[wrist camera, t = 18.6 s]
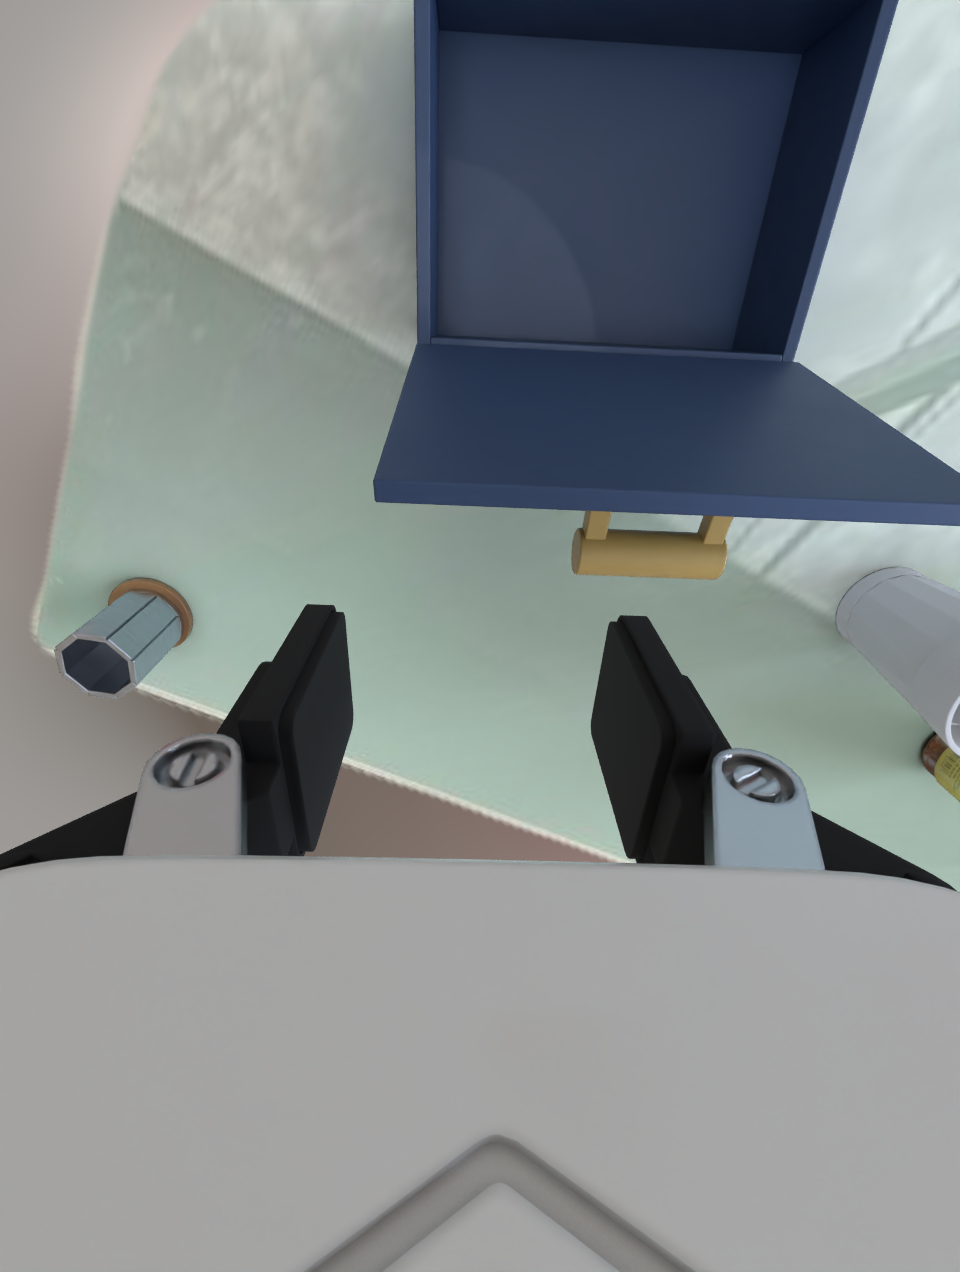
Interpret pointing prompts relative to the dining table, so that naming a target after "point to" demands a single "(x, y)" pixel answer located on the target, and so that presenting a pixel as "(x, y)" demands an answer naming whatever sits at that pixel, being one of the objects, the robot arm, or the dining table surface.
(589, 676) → the dining table surface
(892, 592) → the cup
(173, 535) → the dining table surface
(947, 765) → the sauce bottle
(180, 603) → the coaster
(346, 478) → the dining table surface
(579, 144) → the chest
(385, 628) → the dining table surface
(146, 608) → the tumbler
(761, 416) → the lid
